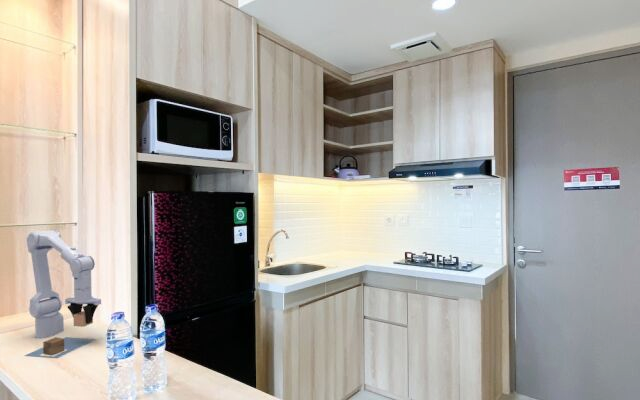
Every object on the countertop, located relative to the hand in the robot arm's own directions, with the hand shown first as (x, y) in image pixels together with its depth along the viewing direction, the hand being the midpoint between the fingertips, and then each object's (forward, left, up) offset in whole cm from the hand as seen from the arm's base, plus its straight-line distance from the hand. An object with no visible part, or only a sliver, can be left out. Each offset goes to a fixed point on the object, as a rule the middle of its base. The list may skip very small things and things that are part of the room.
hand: (83, 322), depth 146 cm
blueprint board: (+5, -5, -9) cm, 11 cm away
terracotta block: (0, 0, -1) cm, 1 cm away
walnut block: (+10, -3, -8) cm, 13 cm away
